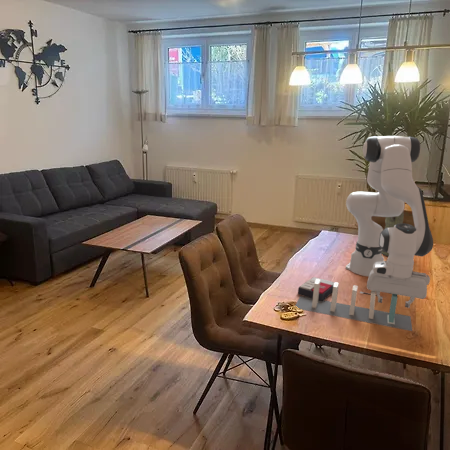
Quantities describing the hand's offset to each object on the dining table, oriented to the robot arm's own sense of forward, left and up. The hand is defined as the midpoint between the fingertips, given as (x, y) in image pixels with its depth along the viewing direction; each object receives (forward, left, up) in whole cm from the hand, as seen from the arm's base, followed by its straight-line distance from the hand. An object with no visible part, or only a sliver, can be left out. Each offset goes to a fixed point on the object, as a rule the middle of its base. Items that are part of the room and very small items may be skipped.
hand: (393, 304), depth 154 cm
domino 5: (0, 0, -6) cm, 6 cm away
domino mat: (0, -14, -7) cm, 16 cm away
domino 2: (0, -21, -6) cm, 22 cm away
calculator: (-13, -29, -7) cm, 32 cm away
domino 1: (0, -28, -6) cm, 29 cm away
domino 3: (0, -14, -6) cm, 15 cm away
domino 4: (0, -7, -6) cm, 9 cm away
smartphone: (-18, -5, -8) cm, 20 cm away
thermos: (-84, 0, -7) cm, 84 cm away
